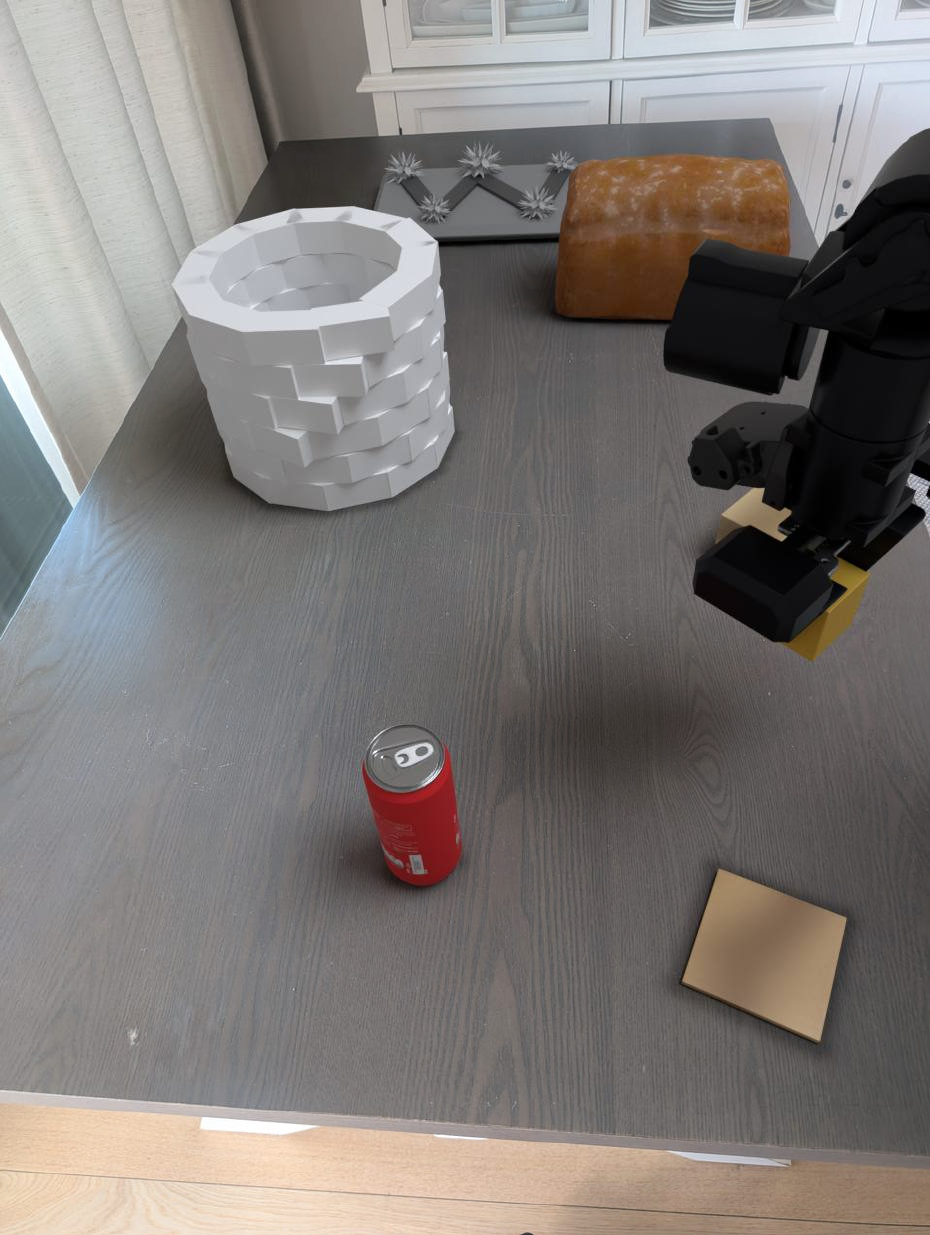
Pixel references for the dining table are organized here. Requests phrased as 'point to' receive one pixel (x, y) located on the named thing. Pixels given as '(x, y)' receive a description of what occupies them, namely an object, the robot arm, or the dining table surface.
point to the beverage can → (413, 803)
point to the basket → (322, 353)
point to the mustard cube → (832, 614)
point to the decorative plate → (479, 197)
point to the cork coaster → (766, 954)
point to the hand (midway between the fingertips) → (804, 617)
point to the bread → (660, 228)
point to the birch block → (752, 516)
